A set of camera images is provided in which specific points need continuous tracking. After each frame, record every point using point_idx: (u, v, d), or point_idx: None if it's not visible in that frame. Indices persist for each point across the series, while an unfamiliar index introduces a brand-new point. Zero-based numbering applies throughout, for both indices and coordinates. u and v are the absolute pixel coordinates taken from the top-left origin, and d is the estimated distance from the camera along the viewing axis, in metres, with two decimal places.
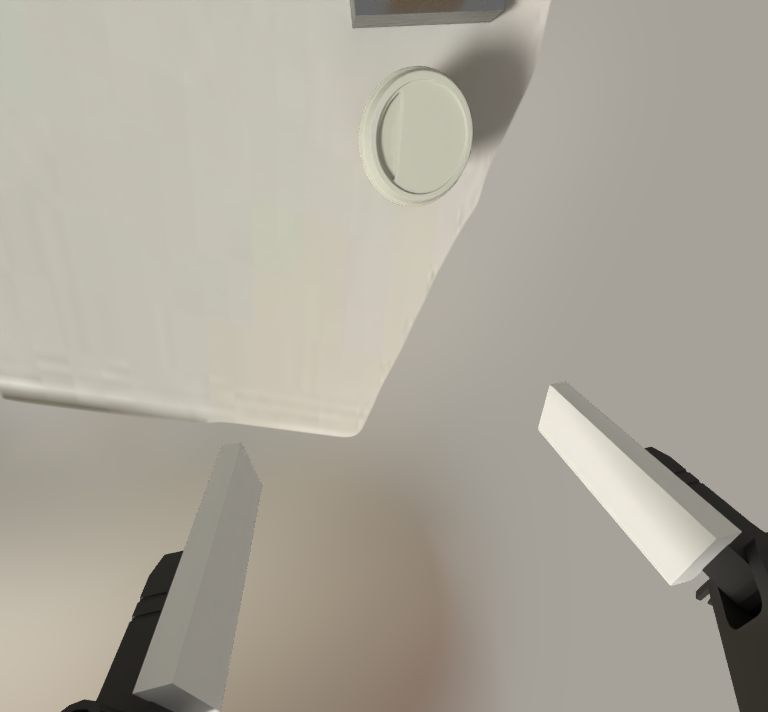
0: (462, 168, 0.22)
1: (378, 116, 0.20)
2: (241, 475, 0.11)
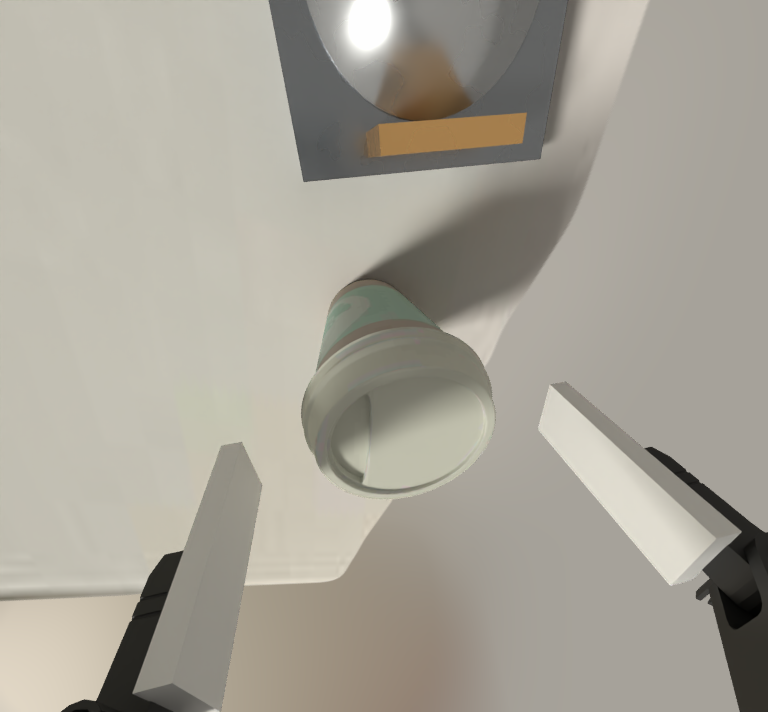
0: (476, 458, 0.14)
1: (327, 431, 0.11)
2: (241, 475, 0.11)
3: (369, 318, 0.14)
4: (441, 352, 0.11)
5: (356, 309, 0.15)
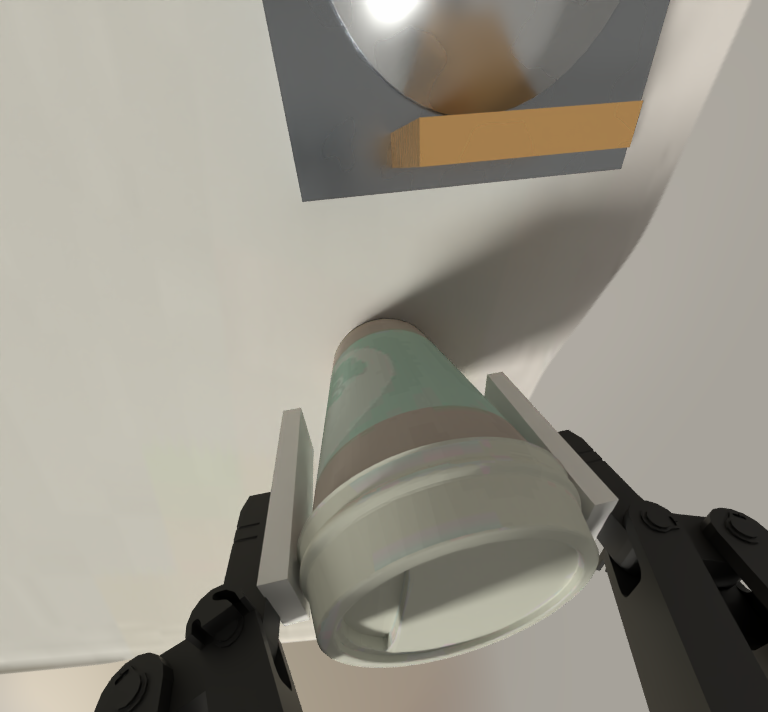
0: (555, 610, 0.09)
1: (337, 619, 0.07)
2: (303, 435, 0.12)
3: (397, 401, 0.09)
4: (525, 487, 0.07)
5: (375, 376, 0.11)
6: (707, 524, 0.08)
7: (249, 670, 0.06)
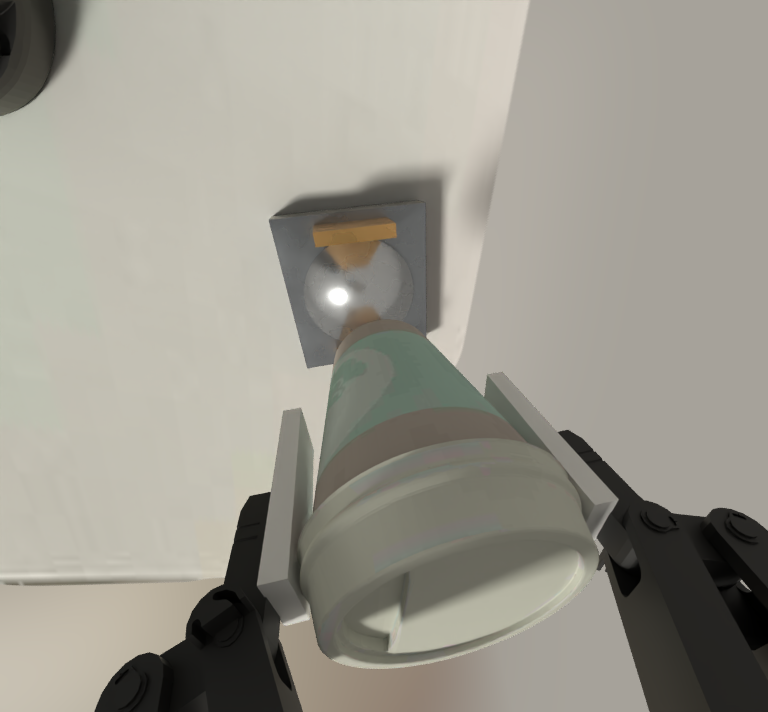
0: (555, 611, 0.09)
1: (337, 620, 0.07)
2: (303, 435, 0.12)
3: (397, 402, 0.09)
4: (525, 489, 0.07)
5: (375, 377, 0.11)
6: (707, 524, 0.08)
7: (249, 670, 0.06)
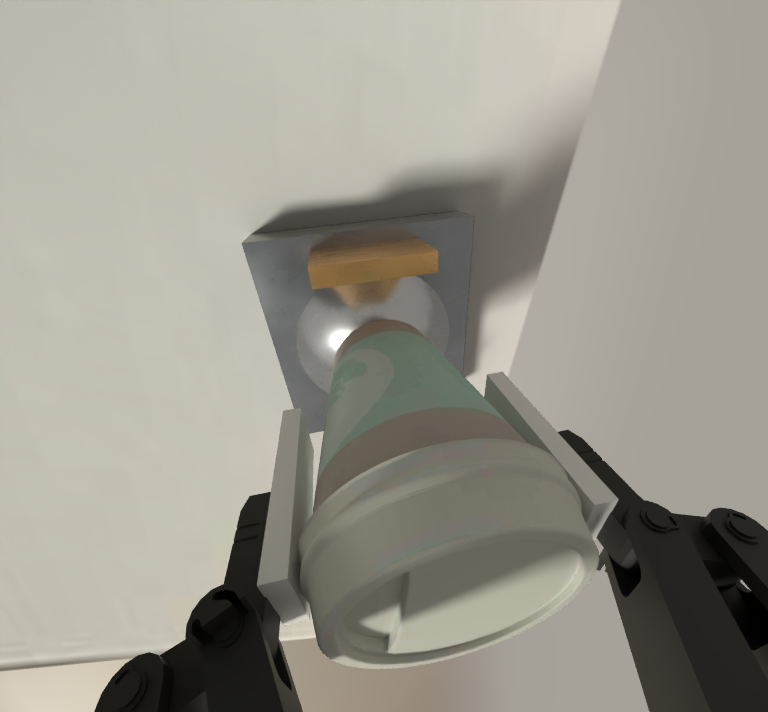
0: (555, 611, 0.09)
1: (337, 620, 0.07)
2: (303, 435, 0.12)
3: (397, 403, 0.09)
4: (525, 489, 0.07)
5: (375, 377, 0.11)
6: (707, 524, 0.08)
7: (249, 670, 0.06)
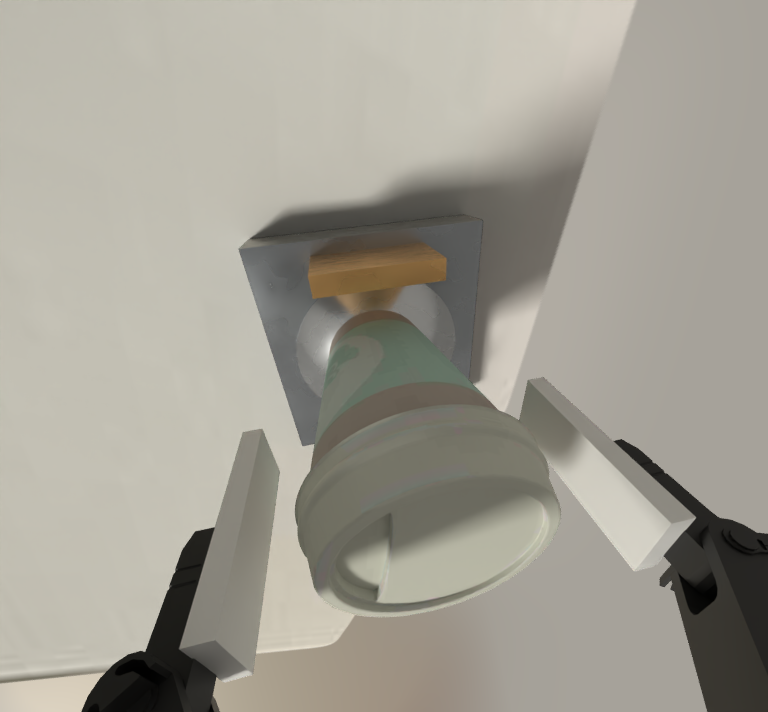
0: (527, 564, 0.10)
1: (330, 559, 0.08)
2: (262, 460, 0.12)
3: (385, 379, 0.10)
4: (492, 445, 0.08)
5: (366, 359, 0.12)
6: None
7: None
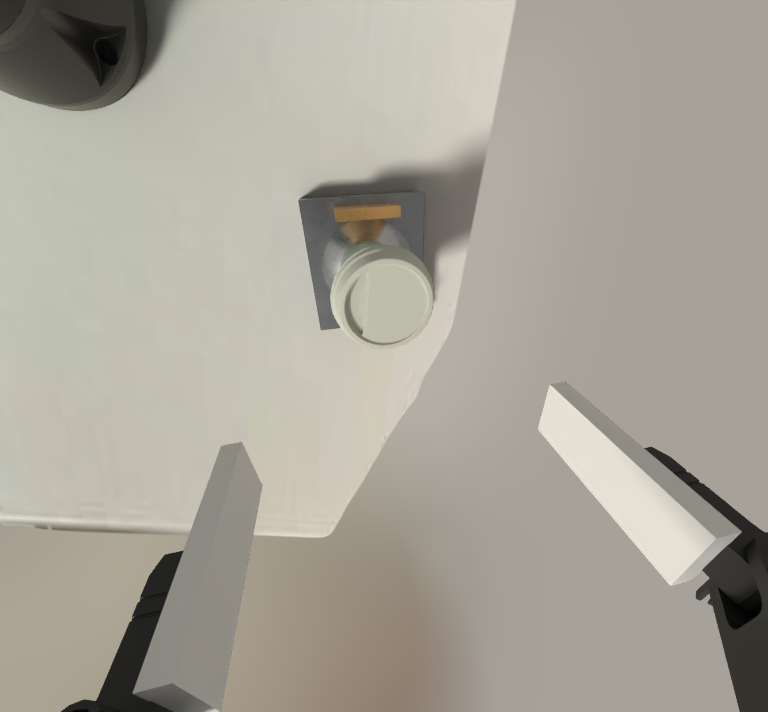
0: (424, 324, 0.25)
1: (345, 292, 0.22)
2: (241, 475, 0.11)
3: (368, 247, 0.25)
4: (403, 255, 0.22)
5: (360, 247, 0.27)
6: None
7: None
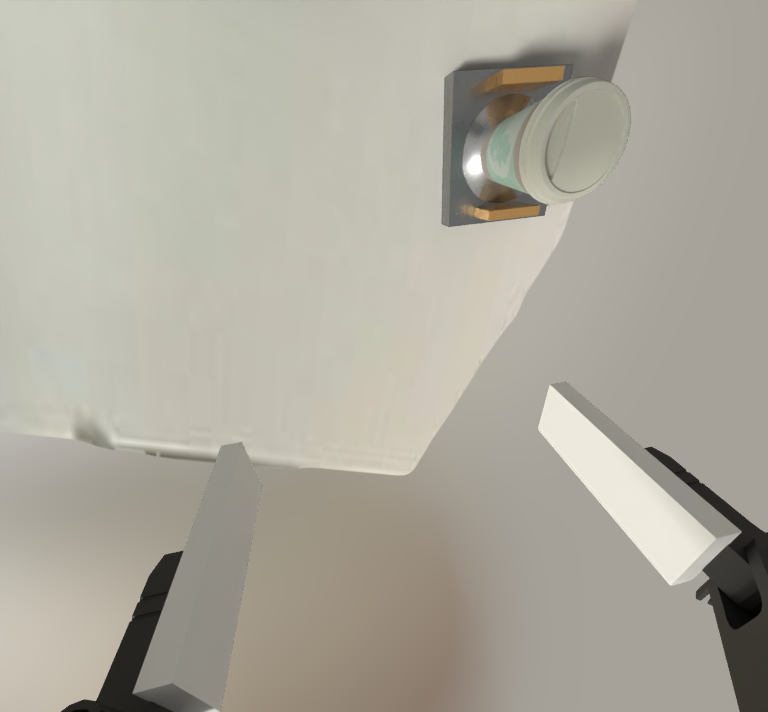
0: (612, 169, 0.25)
1: (553, 122, 0.22)
2: (241, 475, 0.11)
3: None
4: None
5: None
6: None
7: None
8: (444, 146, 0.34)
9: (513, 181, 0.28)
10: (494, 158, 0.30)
